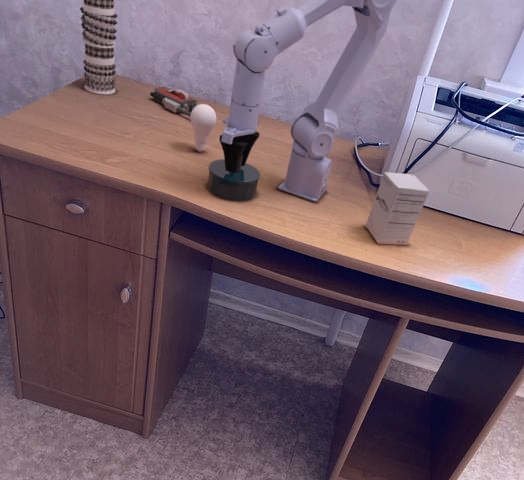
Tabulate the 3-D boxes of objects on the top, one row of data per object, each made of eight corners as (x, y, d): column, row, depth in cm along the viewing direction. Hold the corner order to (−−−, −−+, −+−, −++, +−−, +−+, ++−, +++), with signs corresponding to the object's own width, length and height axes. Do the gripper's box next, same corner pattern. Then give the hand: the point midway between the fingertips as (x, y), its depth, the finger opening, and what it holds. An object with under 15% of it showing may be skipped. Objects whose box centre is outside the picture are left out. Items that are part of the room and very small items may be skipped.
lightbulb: (183, 152, 127) (187, 104, 120) (192, 144, 131) (196, 98, 124) (207, 158, 126) (213, 111, 119) (215, 150, 131) (221, 104, 124)
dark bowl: (262, 189, 119) (265, 172, 116) (244, 206, 111) (247, 188, 109) (220, 174, 121) (222, 157, 118) (199, 190, 113) (201, 172, 110)
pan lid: (266, 175, 117) (270, 154, 114) (247, 192, 109) (251, 170, 106) (221, 159, 119) (224, 138, 116) (199, 174, 111) (201, 152, 107)
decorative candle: (110, 97, 146) (110, -9, 130) (77, 89, 145) (73, -18, 129) (121, 88, 153) (122, -13, 137) (89, 81, 152) (87, -22, 136)
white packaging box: (364, 226, 115) (383, 170, 106) (394, 228, 117) (415, 173, 109) (376, 244, 109) (397, 187, 101) (407, 245, 112) (431, 190, 103)
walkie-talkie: (143, 99, 150) (195, 124, 143) (144, 82, 147) (197, 107, 140) (165, 96, 156) (216, 119, 148) (166, 80, 153) (218, 103, 146)
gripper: (241, 89, 110) (232, 152, 119) (211, 103, 99) (203, 172, 108) (272, 99, 109) (260, 162, 118) (245, 114, 98) (234, 183, 107)
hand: (235, 168), depth 113 cm, fingers open, 4 cm apart
